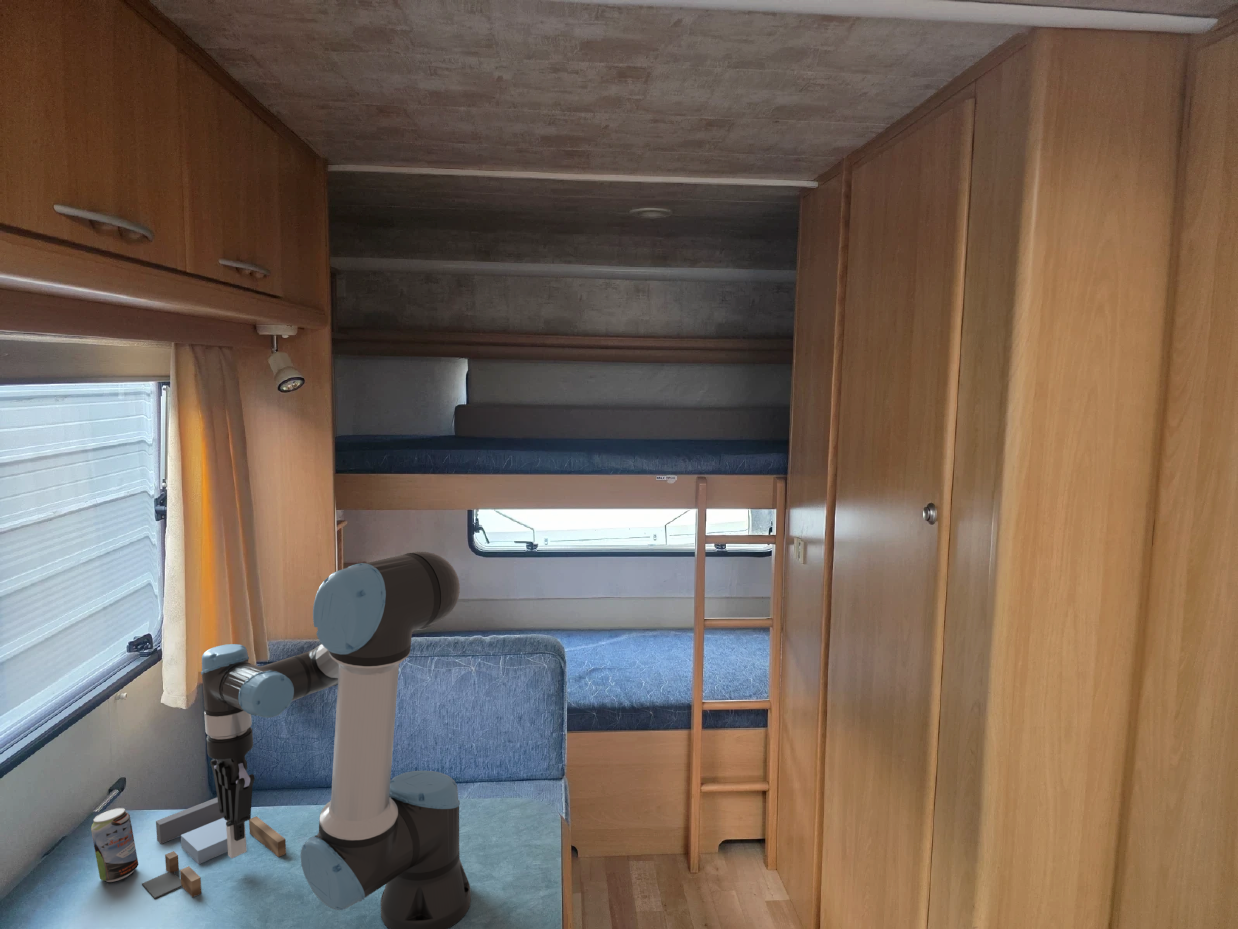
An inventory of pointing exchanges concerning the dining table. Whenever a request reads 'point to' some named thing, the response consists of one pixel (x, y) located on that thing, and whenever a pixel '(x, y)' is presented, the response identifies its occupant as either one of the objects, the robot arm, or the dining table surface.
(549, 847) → the dining table surface
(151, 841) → the dining table surface
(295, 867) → the dining table surface
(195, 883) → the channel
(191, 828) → the end block
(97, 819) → the beverage can
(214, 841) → the block
